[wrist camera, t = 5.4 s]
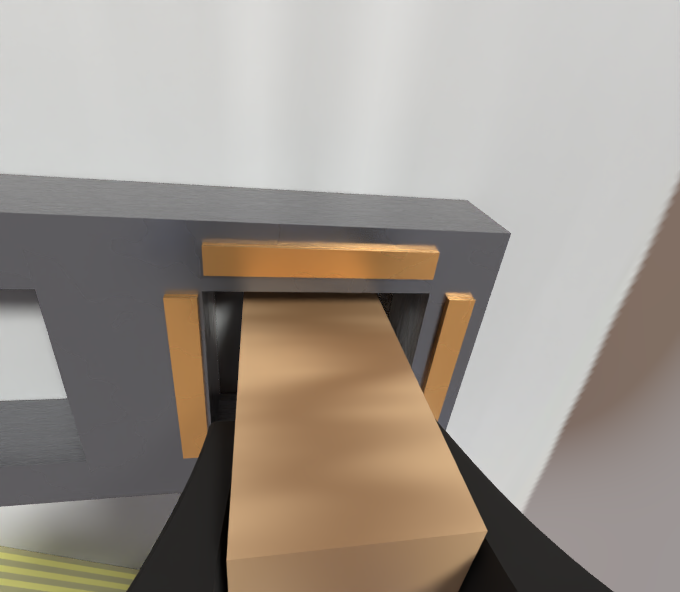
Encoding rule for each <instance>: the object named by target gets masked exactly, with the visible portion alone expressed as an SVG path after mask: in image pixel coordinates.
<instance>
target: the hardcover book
mask: <svg viewBox="0 0 680 592" xmlns="http://www.w3.org/2000/svg"><path fill="white" fill-rule="evenodd" d="M138 572H139V570H137V569H131V568H125V567H119V566H114V565H108V564H102V563H96V562H90V561H84V560H79V559H73V558H67V557H61V556H55V555H49V554H44V553H38V552H32V551H26V550H20V549H14V548H9V547H3V546H0V592H126V591H127V590H128V588H129V586H130V585H131V583H132V582H133V580H134V578H135V577H136V575H137V574H138Z"/></svg>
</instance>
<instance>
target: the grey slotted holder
mask: <svg viewBox="0 0 680 592" xmlns="http://www.w3.org/2000/svg"><path fill="white" fill-rule="evenodd" d="M510 235H511V233H510V232H509V231H507V230H506V229H505V228H503V227H502V226H501V225H499V224H498V223H497V222H495V221H494V220H493V219H491V218H490V217H489V216H487V215H486V214H485V213H483V212H482V211H481V210H479V209H478V208H477V207H475V206H474V205H473V204H471V203H470V202H469V201H468V200H450V199H432V198H415V197H397V196H379V195H362V194H344V193H326V192H309V191H291V190H273V189H256V188H238V187H220V186H203V185H185V184H167V183H150V182H132V181H114V180H97V179H79V178H61V177H44V176H26V175H8V174H0V289H35V292H36V295H37V298H38V302H39V305H40V308H41V312H42V315H43V318H44V321H45V325H46V328H47V331H48V335H49V338H50V341H51V345H52V348H53V351H54V355H55V358H56V361H57V364H58V368H59V371H60V374H61V378H62V381H63V384H64V388H65V391H66V394H67V398H68V399H52V400H23V401H0V507H1V506H13V505H26V504H39V503H52V502H65V501H78V500H91V499H104V498H116V497H129V496H142V495H155V494H168V493H181V492H183V490H184V488H185V486H186V483H187V481H188V479H189V477H190V475H191V473H192V471H193V468H194V466H195V464H196V461H197V459H198V457H199V454H200V452H201V449H202V447H203V444H204V441H205V438H206V435H207V432H208V428H209V425H210V424H212V423H213V422H217V421H235V420H236V405H237V393H222V394H220V379H219V360H218V341H217V322H216V303H215V291H240V292H338V293H394V294H393V299H392V304H391V309H390V314H389V319H388V320H389V322H390V324H391V326H392V328H393V330H394V332H395V334H396V337H397V339H398V341H399V343H400V345H401V347H402V349H403V352H404V354H405V356H406V358H407V360H408V362H409V364H410V366H411V369H412V371H413V373H414V375H415V377H416V379H417V381H418V384H419V386H420V388H421V390H422V392H423V394H424V396H425V398H426V401H427V403H428V405H429V407H430V409H431V411H432V413H433V416H434V418H435V419H436V420H437V422H438V423H439V424H440V425H441V426H442V427H443V429H444V430H445V431H446V428H447V425H448V422H449V419H450V416H451V413H452V410H453V407H454V404H455V401H456V398H457V395H458V392H459V389H460V385H461V382H462V379H463V376H464V373H465V370H466V367H467V364H468V361H469V358H470V355H471V352H472V349H473V346H474V343H475V340H476V337H477V334H478V331H479V328H480V325H481V322H482V319H483V316H484V313H485V310H486V307H487V304H488V301H489V298H490V295H491V292H492V289H493V286H494V283H495V280H496V277H497V274H498V271H499V268H500V265H501V262H502V259H503V256H504V253H505V250H506V247H507V244H508V241H509V238H510Z"/></svg>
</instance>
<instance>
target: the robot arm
mask: <svg viewBox="0 0 680 592" xmlns="http://www.w3.org/2000/svg"><path fill="white" fill-rule="evenodd" d="M435 420H436V419H435ZM436 422H437V420H436ZM437 424H438V426H439V428H440V430H441V433H442V435H443V437H444V439H445V441H446V443H447V445H448V448H449V450H450V452H451V454H452V456H453V458H454V460H455V462H456V465H457V467H458V469H459V471H460V473H461V475H462V477H463V480H464V482H465V484H466V486H467V488H468V490H469V492H470V494H471V497H472V499H473V501H474V503H475V505H476V507H477V509H478V512H479V514H480V516H481V518H482V520H483V522H484V524H485V526H486V529H487V533H486V535H485V537H484V540H483V542H482V544H481V546H480V548H479V550H478V552H477V554H476V556H475V558H474V560H473V562H472V564H471V566H470V568H469V570H468V572H467V574H466V576H465V578H464V580H463V582H462V585H461V587H460V589H459V591H458V592H613V591H612V590H610V589H609V588H608V587H607V586H605V585H604V584H603V583H602V582H600V581H599V580H598V579H596V578H595V577H594V576H593V575H591V574H590V573H588V571H586V570H585V569H584V568H583V567H581V566H580V565H579V564H578V563H577V562H575V561H574V560H573V559H572V558H571V557H569V556H568V555H567V554H566V553H565V552H564V551H563V550H562V549H560V548H559V547H558V546H557V545H556V544H555V543H553V542H552V541H551V540H550V539H549V538H548V537H547V536H546V535H544V534H543V533H542V532H541V531H540V530H539V529H538V528H537V527H536V526H535V525H534V524H532V522H530V521H529V520H528V519H527V518H526V517H525V516H524V515H523V514H522V513H521V512H520V511H519V510H518V509H517V508H516V507H515V506H514V505H513V504H512V503H511V502H510V501H509V500H508V499H507V498H506V497H505V496H504V495H503V494H502V493H501V492H500V491H499V490H498V489H497V488H496V487H495V485H494V484H493V483H492V482H491V481H490V480H489V479H488V478H487V477H486V476H485V475H484V474H483V473H482V471H481V470H480V469H479V468H478V467H477V466H476V465H475V464H474V463H473V462H472V461H471V459H470V458H469V457H468V456H467V455H466V454H465V453H464V452H463V450H462V449H461V448H460V447H459V446H458V445H457V444H456V442H455V441H454V440H453V439H452V438H451V437H450V435H449V434H448V433H447V432H446V431H445V430H444V429H443V427H442V426H441V425H440V424H439V423H438V422H437ZM234 436H235V421H217V422H213V423H212V424H210V425H209V428H208V432H207V435H206V438H205V441H204V444H203V447H202V449H201V452H200V454H199V457H198V459H197V461H196V464H195V466H194V468H193V471H192V473H191V475H190V477H189V479H188V481H187V483H186V486H185V488H184V490H183V492H182V494H181V496H180V498H179V500H178V502H177V504H176V506H175V508H174V510H173V512H172V514H171V516H170V517H169V519H168V521H167V523H166V525H165V527H164V528H163V530H162V532H161V534H160V536H159V537H158V539H157V541H156V543H155V545H154V546H153V548H152V550H151V552H150V553H149V555H148V557H147V559H146V560H145V562H144V564H143V565H142V567H141V569H140V570H139V572H138V574H137V575H136V577H135V578H134V580H133V582H132V583H131V585H130V586H129V588H128V590H127V591H126V592H228V577H227V545H228V530H229V514H230V498H231V483H232V467H233V452H234Z"/></svg>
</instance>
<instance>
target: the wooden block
mask: <svg viewBox="0 0 680 592" xmlns="http://www.w3.org/2000/svg"><path fill="white" fill-rule="evenodd" d="M486 533H487V529H486V526H485V524H484V522H483V520H482V518H481V516H480V514H479V512H478V509H477V507H476V505H475V503H474V501H473V499H472V497H471V494H470V492H469V490H468V488H467V486H466V484H465V482H464V480H463V477H462V475H461V473H460V471H459V469H458V467H457V465H456V462H455V460H454V458H453V456H452V454H451V452H450V450H449V448H448V445H447V443H446V441H445V439H444V437H443V435H442V433H441V430H440V428H439V426H438V424H437V422H436V420H435V418H434V416H433V413H432V411H431V409H430V407H429V405H428V403H427V401H426V398H425V396H424V394H423V392H422V390H421V388H420V386H419V384H418V381H417V379H416V377H415V375H414V373H413V371H412V369H411V366H410V364H409V362H408V360H407V358H406V356H405V354H404V352H403V349H402V347H401V345H400V343H399V341H398V339H397V337H396V334H395V332H394V330H393V328H392V326H391V324H390V322H389V320H388V317H387V315H386V313H385V311H384V309H383V307H382V305H381V302H380V300H379V298H378V296H377V294H376V293H338V292H244V295H243V311H242V327H241V342H240V358H239V373H238V389H237V405H236V420H235V436H234V452H233V467H232V483H231V498H230V514H229V530H228V545H227V577H228V592H458V591H459V589H460V587H461V585H462V582H463V580H464V578H465V576H466V574H467V572H468V570H469V568H470V566H471V564H472V562H473V560H474V558H475V556H476V554H477V552H478V550H479V548H480V546H481V544H482V542H483V540H484V537H485V535H486Z"/></svg>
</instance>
